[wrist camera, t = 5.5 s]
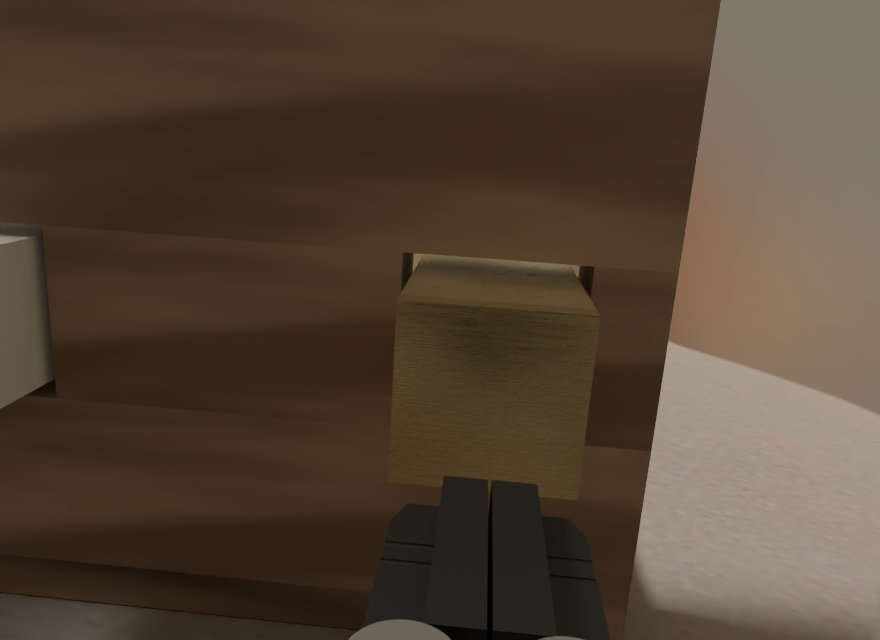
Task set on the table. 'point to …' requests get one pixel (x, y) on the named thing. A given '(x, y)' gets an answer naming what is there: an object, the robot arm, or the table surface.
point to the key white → (23, 313)
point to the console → (316, 270)
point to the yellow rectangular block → (492, 374)
